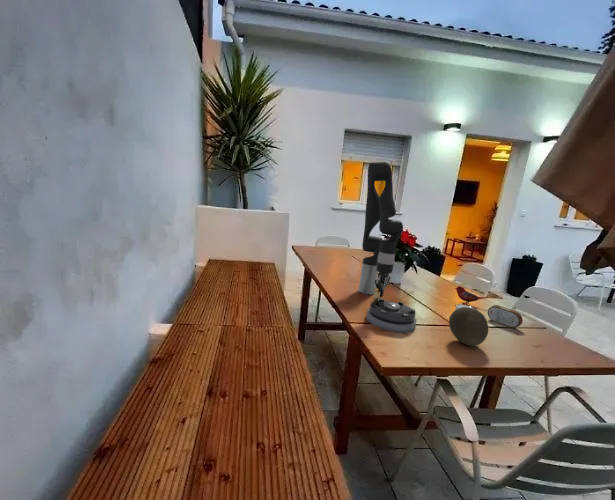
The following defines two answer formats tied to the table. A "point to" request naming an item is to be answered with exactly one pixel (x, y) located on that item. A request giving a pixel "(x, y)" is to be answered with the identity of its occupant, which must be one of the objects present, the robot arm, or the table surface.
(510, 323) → the tin
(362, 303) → the table surface
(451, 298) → the table surface
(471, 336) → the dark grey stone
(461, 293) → the decorative bird figurine
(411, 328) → the base plate
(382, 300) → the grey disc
